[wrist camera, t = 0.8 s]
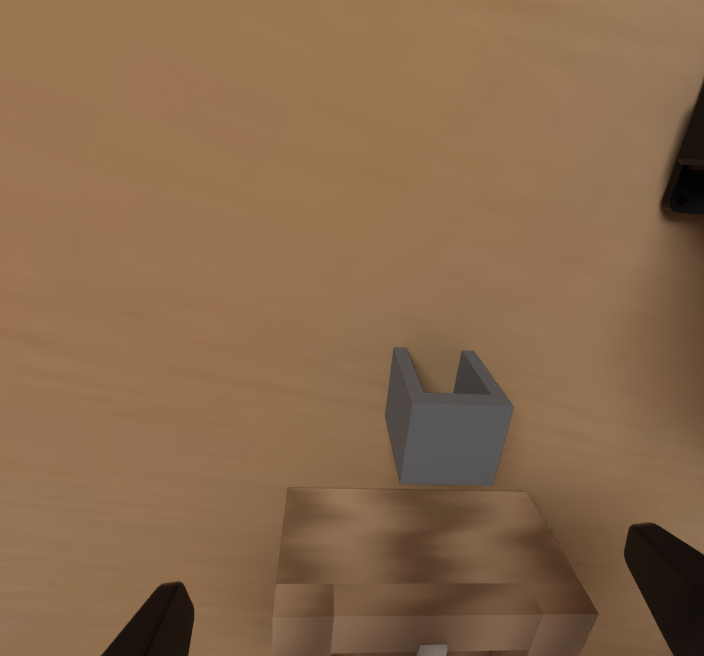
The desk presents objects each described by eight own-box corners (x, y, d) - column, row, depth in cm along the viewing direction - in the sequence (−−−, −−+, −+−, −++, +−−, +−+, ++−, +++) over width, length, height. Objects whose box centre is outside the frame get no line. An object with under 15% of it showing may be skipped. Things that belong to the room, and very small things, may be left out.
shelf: (527, 491, 24) (607, 628, 17) (477, 647, 30) (522, 796, 23) (287, 487, 23) (270, 632, 16) (284, 650, 29) (271, 808, 22)
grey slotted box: (473, 351, 20) (513, 406, 16) (459, 418, 22) (492, 485, 18) (393, 347, 20) (412, 403, 16) (385, 415, 22) (399, 483, 17)
